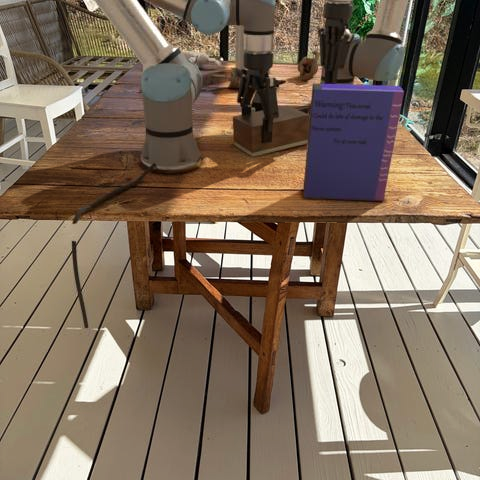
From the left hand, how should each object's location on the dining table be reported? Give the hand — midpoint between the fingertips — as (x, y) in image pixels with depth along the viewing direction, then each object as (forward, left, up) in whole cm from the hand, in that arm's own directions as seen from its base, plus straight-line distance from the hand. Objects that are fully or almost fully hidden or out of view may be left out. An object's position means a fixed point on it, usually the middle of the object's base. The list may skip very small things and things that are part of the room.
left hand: (256, 136), depth 132 cm
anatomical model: (+91, -7, -3) cm, 92 cm away
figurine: (+67, +15, -3) cm, 69 cm away
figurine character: (+26, +3, -3) cm, 27 cm away
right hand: (+15, -18, +9) cm, 26 cm away
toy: (+100, +49, -3) cm, 111 cm away
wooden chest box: (+3, -4, -3) cm, 6 cm away
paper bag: (+97, +17, -3) cm, 98 cm away
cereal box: (-26, -24, -3) cm, 36 cm away
